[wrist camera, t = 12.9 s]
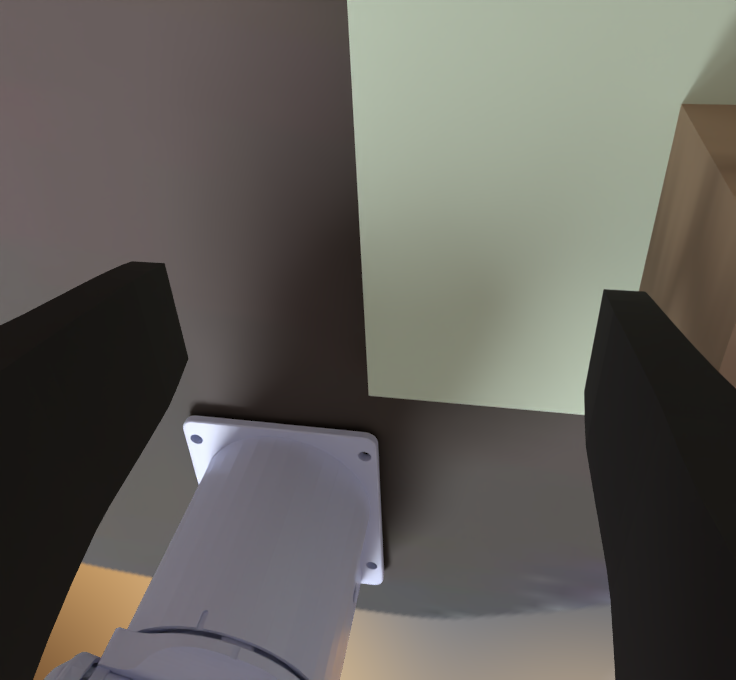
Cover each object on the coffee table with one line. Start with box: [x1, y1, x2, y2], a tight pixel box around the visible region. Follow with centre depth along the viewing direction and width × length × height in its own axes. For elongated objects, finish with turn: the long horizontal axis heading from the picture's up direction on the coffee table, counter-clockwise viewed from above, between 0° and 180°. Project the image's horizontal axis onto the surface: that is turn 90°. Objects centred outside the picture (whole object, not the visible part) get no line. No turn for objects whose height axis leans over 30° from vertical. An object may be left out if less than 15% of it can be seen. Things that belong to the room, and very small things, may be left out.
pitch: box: [347, 0, 736, 415], centre depth 15 cm, size 24×17×4 cm
